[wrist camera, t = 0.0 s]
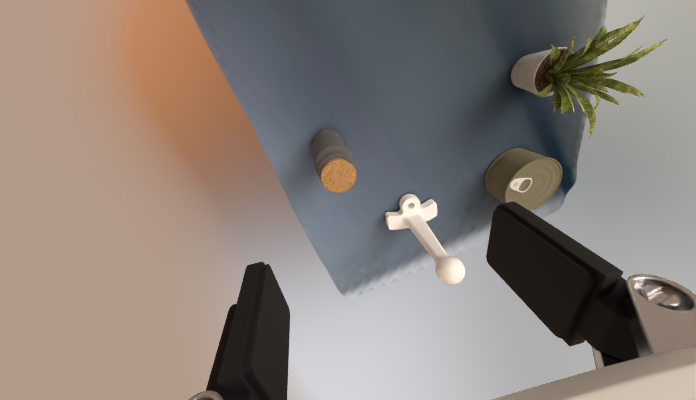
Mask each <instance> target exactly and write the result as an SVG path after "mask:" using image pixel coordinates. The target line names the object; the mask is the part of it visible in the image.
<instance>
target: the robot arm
mask: <svg viewBox="0 0 696 400" xmlns="http://www.w3.org/2000/svg"><path fill="white" fill-rule="evenodd" d="M486 258H487V262H488V264H489V265H490V266H491V267H492V268H493V269H494V270H495V271H496V273H497V274H498V275H499V276H500V277H501V278H502V279H503V280H504V281H505V282H506V283H507V284H508V285H509V286H510V287H511V289H512V290H513V291H514V292H515V293H516V294H517V295H518V296H519V297H520V298H521V299H522V300H523V302H524V303H525V304H526V305H527V306H528V307H529V308H530V309H531V310H532V311H533V312H534V313H535V314H536V315H537V317H538V318H539V319H540V320H541V321H542V322H543V323H544V324H545V325H546V326H547V327H548V328H549V329H550V331H551V332H552V333H553V334H554V335H555V336H557V337H559V338H562V339H563V340H564V341H565V342H566V343H567V344H568V345H569V346H573V345H576V344H580V343H583V342H584V341H585V340H586V341H587V342H588V343H589V344H590V345H591V346H592V349H593V355H594V360H595V364H596V370H592V371H589V372H585V373H582V374H578V375H575V376H571V377H568V378H565V379H561V380H557V381H554V382H550V383H547V384H544V385H540V386H537V387H533V388H530V389H527V390H523V391H519V392H517V393H513V394H510V395H506V396H502V397H499V398H496V399H492V400H696V295H695V294H693V293H692V292H691V291H689V290H688V289H686V288H685V287H683V286H681V285H679V284H677V283H675V282H673V281H670V280H667V279H665V278H662V277H658V276H654V275H646V274H637V275H633V276H630V277H629V278H628V279H627V281H626V280H625V279H623V278H622V277H621V275H622V274H623V271H621V270H620V269H618V268H617V267H615V266H614V265H612V264H610V263H609V262H607V261H606V260H604V259H603V258H601V257H600V256H598V255H597V254H595V253H594V252H592V251H590V250H589V249H587V248H586V247H584V246H583V245H581V244H580V243H578V242H577V241H575V240H574V239H572V238H570V237H569V236H567V235H566V234H564V233H563V232H561V231H560V230H558V229H557V228H555V227H553V226H552V225H551V224H549V223H547V222H546V221H544V220H543V219H541V218H540V217H538V216H537V215H535V214H534V213H532V212H531V211H529V210H527V209H526V208H524V207H523V206H521V205H520V204H518V203H517V202H513V201H512V202H508V203H504V204H500V205H498V206H497V208H496V209H495V210H494V212H493V218H492V225H491V231H490V237H489V243H488V249H487V256H486ZM289 329H290V311H289V308H288V305H287V303H286V300H285V298H284V296H283V294H282V292H281V289H280V287H279V285H278V282H277V280H276V278H275V276H274V274H273V271H272V269H271V267H270V265H269V264H267V265H265V264H264V263H263V262H259V263H255V264H251V265H248V266H247V267H246V270H245V274H244V278H243V282H242V286H241V290H240V293H239V297H238V301H237V304H234V305H232V306H231V307H230V309H229V312H228V315H227V319H226V322H225V325H224V329H223V332H222V336H221V339H220V343H219V347H218V350H217V353H216V357H215V360H214V364H213V367H212V371H211V374H210V378H209V381H208V385H207V388H206V391H204V392H201V393H198V394H196V395H194V396H193V397H192V398H190V399H189V400H287V382H288V356H289Z"/></svg>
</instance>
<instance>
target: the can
mask: <svg viewBox="0 0 696 400" xmlns="http://www.w3.org/2000/svg"><path fill="white" fill-rule="evenodd" d="M561 178H562V168H561V165H560V164H559V162H558V161H556V160H555V159H552V158H549V157H544V156H542V155H539V154H536V153H534V152H531V151H528V150H526V149H523V148H515V149H511V150H508V151H506V152H504V153H502V154H501V155H500V156H498V157H497V158H496V159H495V160H494V161H493V162H492V164H491V165H490V167H489V168H488V170H487V172H486V175H485V188H486V190H487V191H488V192H489V193H490V194H491V195H493V196H494V197H495V198H497V199H498V200H500V201H501V202H502V203H508V202H512V201H513V202H517V203H518V204H520V205H521V206H523V207H524V208H526V209H527V210H529V211H530V210H533V209H535V208H537V207H539V206H541V205H542V204H543V203H545V202H546V201H547V200H548V199H549V198H550V197H551V196H552V195H553V194H554V192H555V191H556V190H557V188H558V186H559V184H560V181H561Z"/></svg>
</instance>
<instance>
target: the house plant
mask: <svg viewBox="0 0 696 400" xmlns="http://www.w3.org/2000/svg"><path fill="white" fill-rule="evenodd" d="M641 20H642V18H641V19H640V20H638V21H636V22H633V23H631V24H629V25H627V26H625V27H623V28H619V29H616V30H614V31H611V32H608V33H606V27H605V26H604V27H602V28H601V30H600V31H599V33H598V34H597V36H596V37H595V38H594V40H593V41H592V42H591V39H590V38H588V41H587V45H586V46H585V47H583V48H582V49H580V50H578V51H577V52H576V53H573V52H572V50H571V49H572V47H573V45H574V41H575V37H574V38H573V39H572V41H571V43H570V45H569V47H568V48H567V47H559V48H556V47H554V46H553V45H552V49H550V50H546V51H542V52H538V53H534V54H530V55H526V56H524V57H522V58H520V59H519V60H518V61H517V62H516V63H515V65H514V67H513V69H512V71H511V80H512V83H513V85H514V86H516V87H519V88H521V89H524V90H527V91H529V92H532V93H534V94H536V95H538V96H539V97H544V96H545V97H546V96H551V95H553V94H554V101H553V104H554V111H555V110H556V109H558V108H559V107H560V106H561V114H562V113H564V112H566V111H568V110H569V109H570V108H571V107H573V111H574V106H573V99H572V96H571V94H570V93H569V91H570V92H571V93H572V94H573V95H574V96H575V97H576V98H577V100H578V102H579V104H580V105H581V107H582V109H583V111H584V114H585V111H586V113H587V116H588V119H589V122H590V132H589V133H590V136H591V134H592V131H593V129H594V125H595V113H594V110H593V107H592V105H591V104H590V102H589V101H588V100H587V99H586V98H584V97H583V96H582V95H581V94H580V93H579V92H578V91H577V90H576V89H578V90H582V91H586V92H589V93H591V94H594V95H595V96H596V100H597V102H596V105H595V107H594V109H596V107H597V106H598V104H599V101H600V98H603V99H605V100H607V101H610V102H613V103H615V104H617V105H618V102H617V101H616V100H615V99H614V98H613V97H611V96H609V95H607V94H605V93H603V92H601V91H599V90H602V91H604V92H608V91H607V89H606V88H605V87H608V88H612V89H614V90H617V91H620V92H623V93H629V94H635V95H637V96H643V97H644V95H643V94H642V93H641V92H640V91H638V90H637V89H635V88H634V87H631V86H630V85H627V84H624V83H622V82H619V81H617V80H613V79H606V78H605V77H610V76H612V75H614V74H616V73H612V74H607V73H603V71H608V70H612V69H616V68H619V67H622V66H625V65H628V64H630V63H633V62H635V61H637V60H639V59H640V58H642V57H643V56H645V55H646V54H647V53H649V52H650V51H652V50H654V49H655V48H657V47H658V46H660V45H661V44H662V43H663V42H664V41H665V40H663V41H661V42H659V43H657V44H655V45H653V46H651V47H649V48H647V49H645V50H643V51H641V52H639V53H637V54H634V55H632V54H633V53H635V52H636V51H637V50H638V49H639V48H638V49H637V50H636V51H634V52H633V53H631V54H630V55H628V56H627V57H625V58H622V59H618V60H613V61H609V62H605V63H601V64H597V65H593V66H588V67H584V68H579V69H574V68H576V67H578V66H581V65H583V64H585V63H587V62H589V61H591V60H592V59H594V58H596V57H598V56H600V55H602V54H604V53H605V52H607V51H609V50H610V49H612V48H614V47H615V46H617V45H618V44H620V43H621V42H622V41H623V40H624V39H625V38H626V37H627V36H628V35H629V34H630V33H631V32H632V31H633V30H634V29H635V28H636V27H637V26H638V25H639V23H640V21H641ZM622 33H623V34H622ZM620 34H621V35H620ZM619 35H620V36H619ZM575 36H576V34H575ZM617 36H619V37H617ZM615 37H617V38H616V39H614V40H613V41H611V42H610V43H608V41H609V40H611V39H613V38H615ZM574 83H579V84H582V85H584V86H581V85H578V84H574ZM585 85H586V86H585ZM587 86H589V87H592V88H594V89H592V88H589V87H587ZM604 86H605V87H604ZM595 89H597V90H595ZM584 109H585V110H584ZM554 111H553V112H554ZM574 115H575V113H574Z"/></svg>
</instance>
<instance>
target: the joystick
mask: <svg viewBox="0 0 696 400" xmlns="http://www.w3.org/2000/svg"><path fill="white" fill-rule="evenodd" d="M399 205H400V210H399V211H397V212H386V213H385V217H386V224H387V226H388V227H389V229H390V230H398V229H405V228H410V229H411V231H412V232H413V233H414V235H415V236H416V237H417V238H418V240H419V241H420V242H421V244H422V245H423V246H424V247H425V249H426V250H427V251H428V253H429V254H430V255H431V256H432V258H433V259H434V260H435V262H436V274H437V276H438V277H439V279H440V280H441V281H443V282H445V283H447V284H457V283H459V282H460V281H461V280H462V279H463V278H464V275H465V268H464V266H463V264H462V263H461V261H460V260H458V259H457V258H455V257H452V256H448V255H447V254H446V252H445V251H444V249H443V247H442V246H441V244H440V243H439V241H438V240H437V238H436V237H435V235H434V234H433V232H432V231H431V229H430V228H429V226H428V225H427V223H426V221H428V220H430V219H432V218H434V217H436V216H437V204H436V203H435V202H434V201H433V200H432V199H429V200H427V201H426V202H424V203H423V204H420V201H419V200H418V198H417V197H416V196H415V195H413V194H406V195H404V196H403V197H402V198H401V199H400V202H399Z"/></svg>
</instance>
